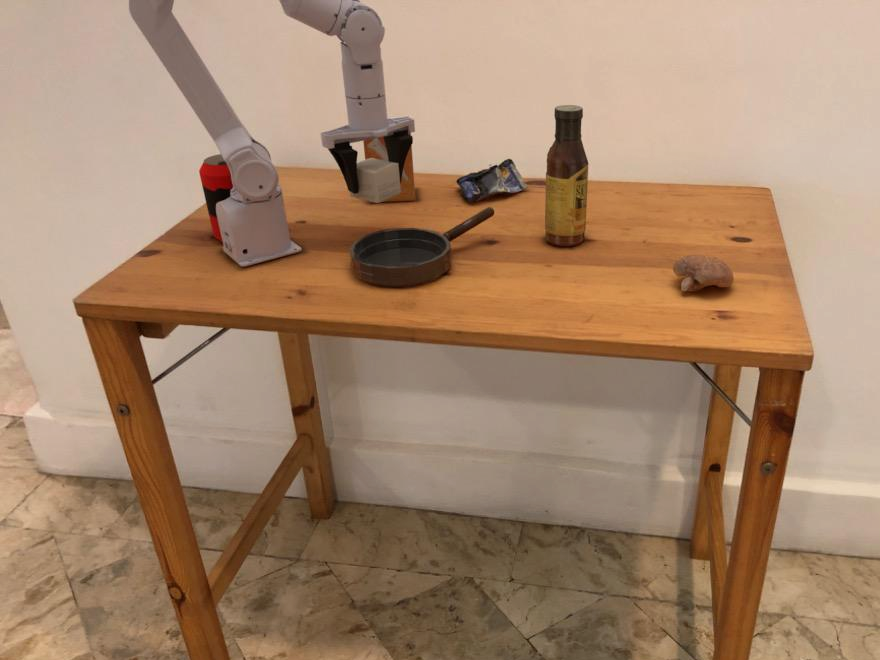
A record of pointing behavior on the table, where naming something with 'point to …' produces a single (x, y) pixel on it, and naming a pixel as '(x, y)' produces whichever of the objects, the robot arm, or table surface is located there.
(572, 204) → the sauce bottle
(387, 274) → the pan
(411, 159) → the small box
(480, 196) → the snack package
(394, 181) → the small box
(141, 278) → the table surface
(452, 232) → the pan handle
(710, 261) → the mushroom
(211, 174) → the soda can
